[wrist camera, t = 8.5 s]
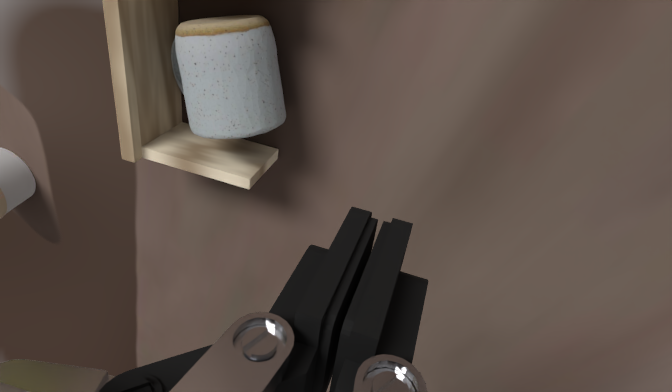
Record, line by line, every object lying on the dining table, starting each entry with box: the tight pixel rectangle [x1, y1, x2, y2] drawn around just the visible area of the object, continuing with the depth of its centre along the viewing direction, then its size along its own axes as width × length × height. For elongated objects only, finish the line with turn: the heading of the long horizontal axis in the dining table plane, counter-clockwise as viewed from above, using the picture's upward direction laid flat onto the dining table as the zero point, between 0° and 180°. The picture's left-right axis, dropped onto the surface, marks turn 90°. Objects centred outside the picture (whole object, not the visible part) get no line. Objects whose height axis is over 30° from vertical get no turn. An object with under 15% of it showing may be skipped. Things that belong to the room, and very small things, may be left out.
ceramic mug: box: [171, 15, 286, 139], centre depth 34 cm, size 11×8×8 cm
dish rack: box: [102, 0, 279, 189], centre depth 33 cm, size 11×20×7 cm, turn 171°
